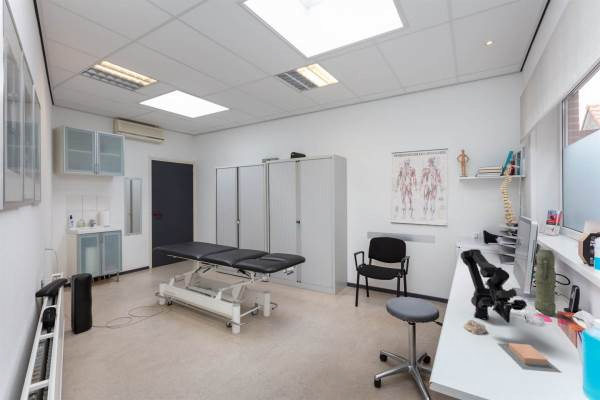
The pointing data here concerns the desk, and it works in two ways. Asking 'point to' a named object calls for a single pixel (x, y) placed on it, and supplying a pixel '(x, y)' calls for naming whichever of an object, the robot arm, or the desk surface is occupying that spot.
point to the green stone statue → (545, 283)
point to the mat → (525, 366)
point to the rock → (475, 327)
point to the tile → (528, 354)
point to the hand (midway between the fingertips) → (508, 322)
